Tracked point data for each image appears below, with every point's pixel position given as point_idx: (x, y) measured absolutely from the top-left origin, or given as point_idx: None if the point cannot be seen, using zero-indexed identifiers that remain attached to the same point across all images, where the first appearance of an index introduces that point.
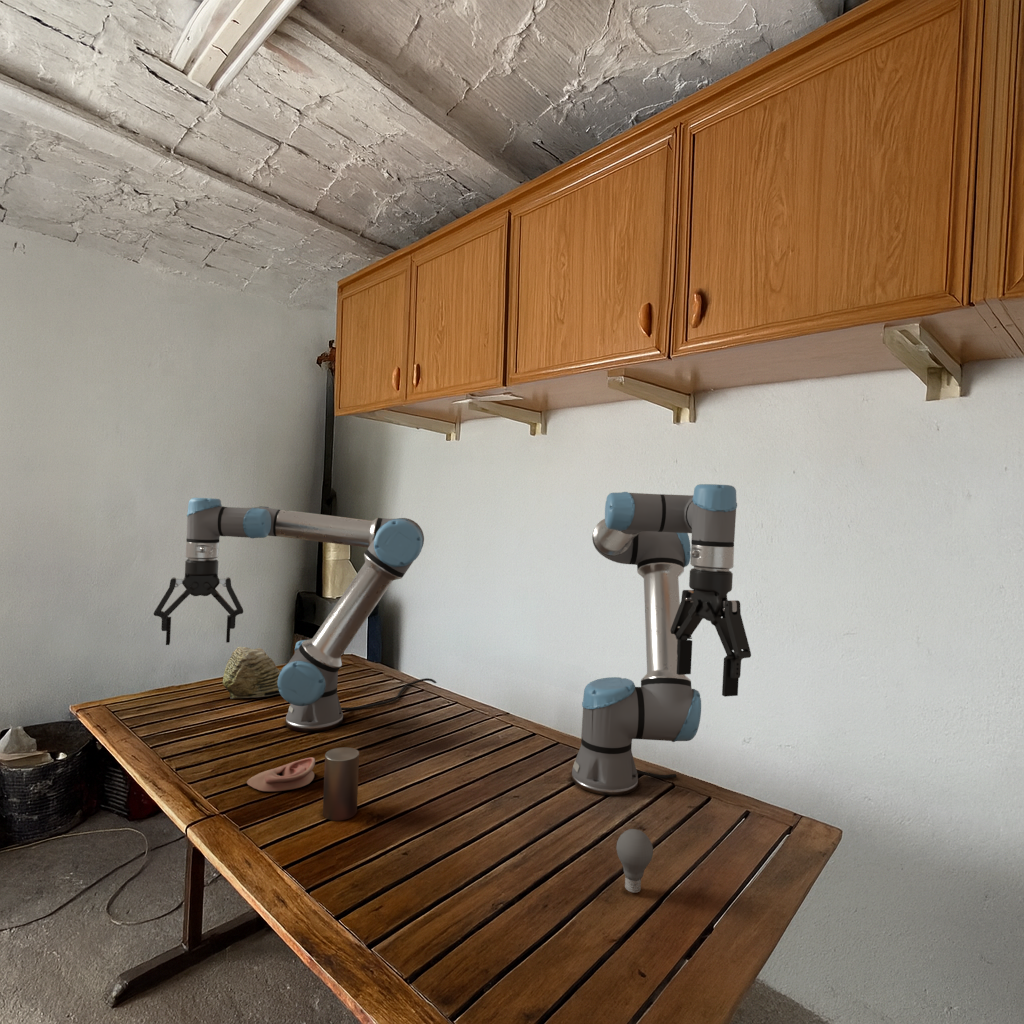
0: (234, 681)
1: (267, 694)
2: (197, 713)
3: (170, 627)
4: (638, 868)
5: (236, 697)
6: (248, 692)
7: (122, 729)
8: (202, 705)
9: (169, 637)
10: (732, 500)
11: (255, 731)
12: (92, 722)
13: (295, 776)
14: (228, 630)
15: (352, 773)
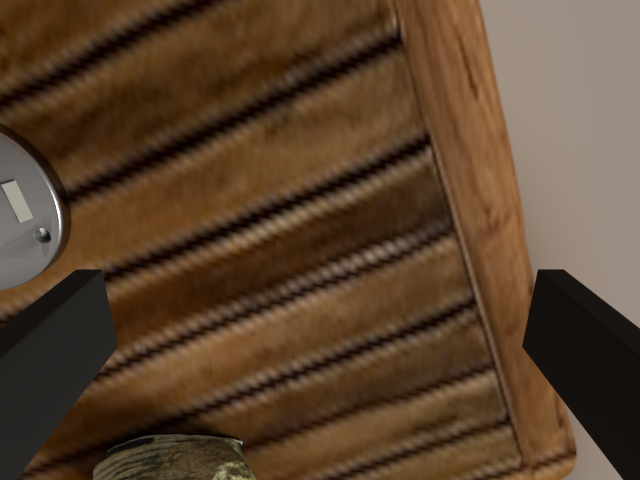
0: (220, 467)
1: (146, 440)
2: (318, 362)
3: (610, 420)
4: None
5: (225, 439)
6: (191, 444)
7: (493, 299)
8: (308, 413)
9: (574, 301)
10: None
11: (154, 182)
12: None
13: None
14: (17, 326)
15: None
